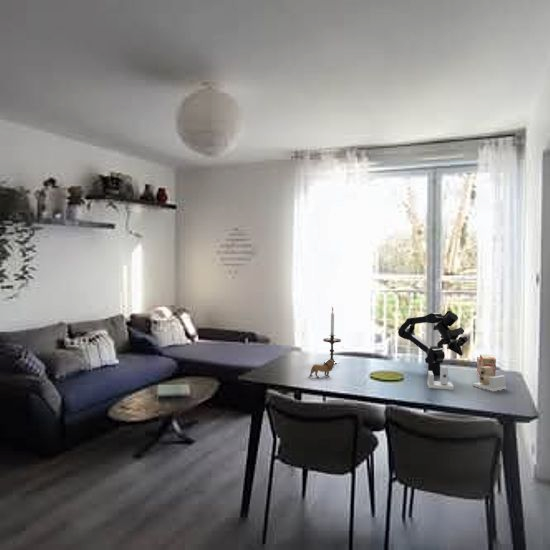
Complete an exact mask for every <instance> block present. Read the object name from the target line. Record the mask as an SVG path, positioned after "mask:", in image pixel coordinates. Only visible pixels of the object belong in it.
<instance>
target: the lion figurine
mask: <svg viewBox="0 0 550 550" xmlns="http://www.w3.org/2000/svg"><path fill="white" fill-rule="evenodd" d="M327 360H328V361H327V362H326V363H324V364H318V363H317V364H313V365H312V367H311V368H310V374H309V376H308V377H309V378H310V377H313V376H314V375H315V377H316V378H320V376H319V375H318V373H319V372H321V373H324V374H323V375H324V377H327V378H330V372H331V371H332V370H333V368H334V365H335V364H334V361H333V360H330V359H327ZM313 373H314V375H313Z"/></svg>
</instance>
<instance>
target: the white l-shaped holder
mask: <svg viewBox="0 0 550 550" xmlns="http://www.w3.org/2000/svg"><path fill="white" fill-rule="evenodd" d="M473 386H476V387H475V388H477V387H479V388H478V389H481V388H483V389H482V390H485V389H487V390H486V391H489V390H490V391H489V392H498V391H497V390H499V391H503V390H502V389H505V390H507V376H506V375H503V374H502V375H495V376H494V377H489V384H482V383H480V381H479V382H475V383H474V382H473V383H472V387H473Z"/></svg>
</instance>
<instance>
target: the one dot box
mask: <svg viewBox="0 0 550 550" xmlns="http://www.w3.org/2000/svg"><path fill="white" fill-rule="evenodd" d="M427 371H428V370H427ZM434 379H435V376H434V374H433V372H432V371H428V373H427V381H426V384H427V386H428V388H429V389H437V390H455V389H454V387H455V386H454V385H453V383H452V381H448V384H441V382H440V380H439V381H438V380H434Z"/></svg>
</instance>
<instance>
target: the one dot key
mask: <svg viewBox="0 0 550 550" xmlns="http://www.w3.org/2000/svg"><path fill="white" fill-rule="evenodd" d="M439 381H440V382H441V384H448V382H449V367H448V366H447V365H441V364H440V375H439Z"/></svg>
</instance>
